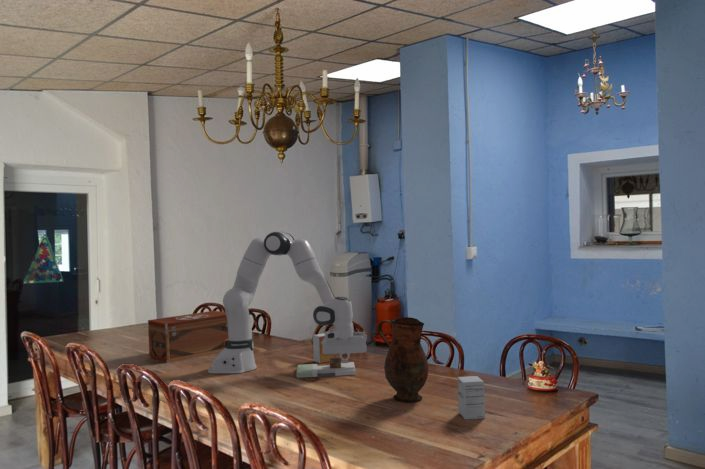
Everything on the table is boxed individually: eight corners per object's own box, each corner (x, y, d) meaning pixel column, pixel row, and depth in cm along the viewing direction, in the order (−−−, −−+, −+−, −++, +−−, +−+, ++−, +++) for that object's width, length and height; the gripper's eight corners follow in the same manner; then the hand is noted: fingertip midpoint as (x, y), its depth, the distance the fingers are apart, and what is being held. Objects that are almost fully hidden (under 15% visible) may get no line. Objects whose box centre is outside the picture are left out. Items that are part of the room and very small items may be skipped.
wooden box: (236, 349, 332) (234, 313, 331) (167, 363, 304) (165, 324, 303) (216, 345, 346) (215, 310, 346) (148, 358, 318) (147, 320, 318)
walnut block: (330, 368, 271) (329, 359, 271) (329, 366, 276) (329, 357, 276) (341, 368, 271) (340, 359, 271) (340, 365, 276) (340, 356, 276)
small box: (320, 363, 290) (318, 336, 290) (313, 361, 296) (312, 334, 295) (334, 360, 295) (333, 334, 295) (327, 358, 300) (326, 332, 300)
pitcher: (413, 408, 216) (410, 324, 215) (367, 398, 230) (364, 319, 229) (439, 396, 228) (436, 317, 227) (394, 388, 242) (391, 313, 242)
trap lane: (296, 377, 265) (296, 373, 265) (298, 369, 281) (297, 364, 281) (355, 374, 266) (355, 370, 266) (353, 366, 282) (353, 362, 282)
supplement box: (458, 413, 208) (456, 376, 208) (479, 411, 209) (477, 375, 209) (463, 419, 201) (462, 382, 201) (485, 418, 201) (484, 380, 201)
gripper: (366, 330, 277) (367, 360, 277) (321, 332, 276) (322, 362, 276) (367, 332, 271) (368, 363, 271) (321, 335, 270) (322, 365, 270)
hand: (345, 363), depth 274 cm, fingers closed
